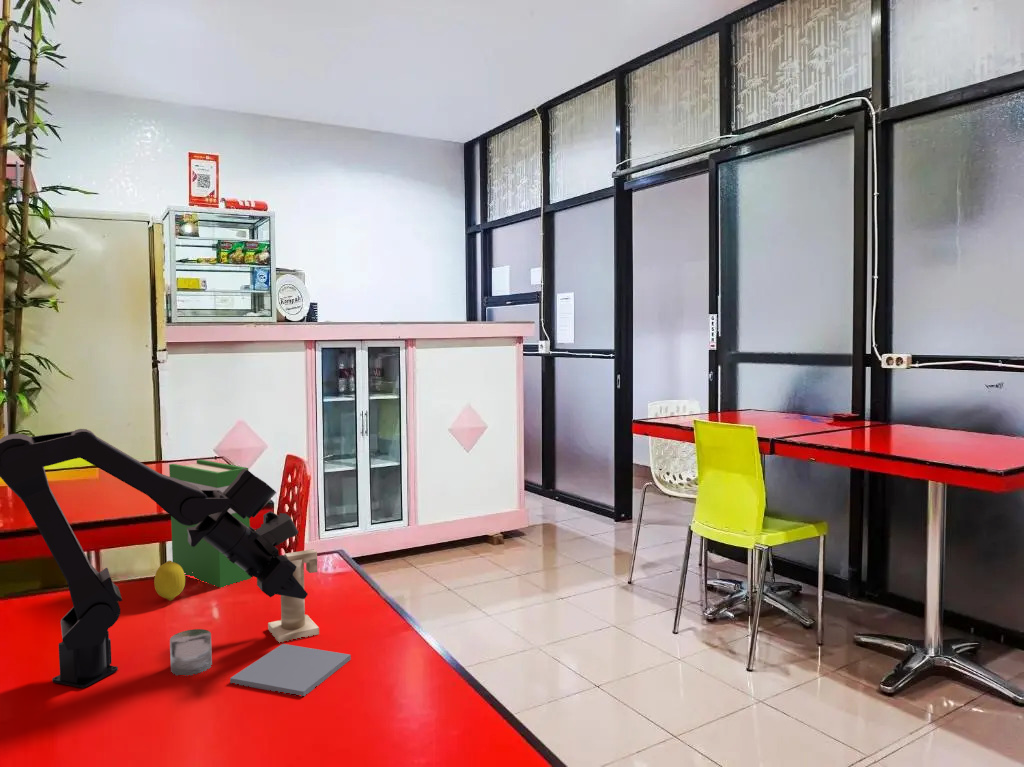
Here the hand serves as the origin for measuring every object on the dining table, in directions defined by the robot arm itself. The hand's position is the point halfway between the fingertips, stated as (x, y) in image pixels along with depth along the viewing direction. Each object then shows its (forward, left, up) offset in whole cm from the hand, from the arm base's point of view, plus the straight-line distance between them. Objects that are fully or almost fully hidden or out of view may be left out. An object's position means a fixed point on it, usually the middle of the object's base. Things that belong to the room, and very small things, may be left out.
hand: (300, 591), depth 132 cm
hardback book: (+19, +36, -7) cm, 41 cm away
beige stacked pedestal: (-1, +1, -7) cm, 7 cm away
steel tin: (-18, +8, -7) cm, 21 cm away
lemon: (+4, +33, -7) cm, 34 cm away
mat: (-14, -8, -7) cm, 18 cm away
